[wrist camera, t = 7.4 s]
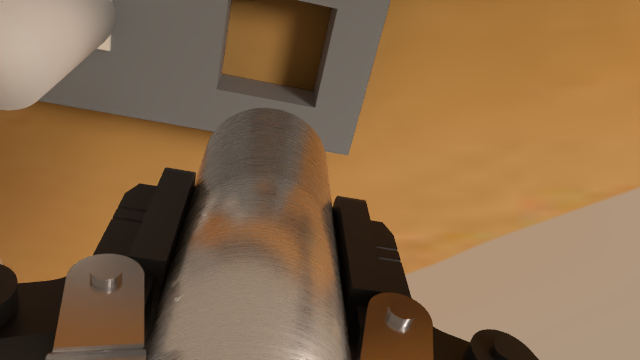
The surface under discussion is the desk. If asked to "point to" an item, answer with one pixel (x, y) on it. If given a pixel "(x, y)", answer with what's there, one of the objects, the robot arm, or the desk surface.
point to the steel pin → (255, 251)
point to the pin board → (176, 62)
